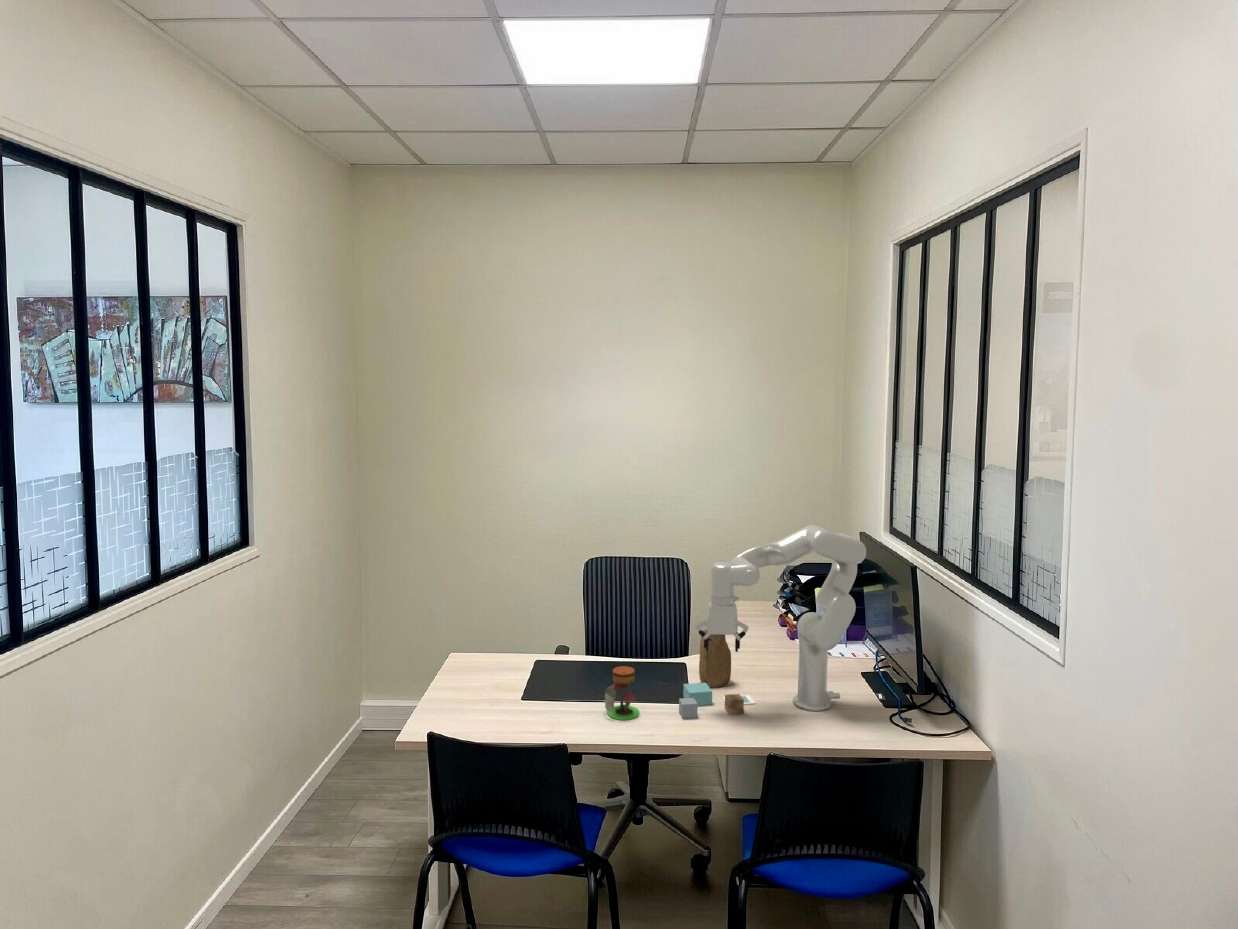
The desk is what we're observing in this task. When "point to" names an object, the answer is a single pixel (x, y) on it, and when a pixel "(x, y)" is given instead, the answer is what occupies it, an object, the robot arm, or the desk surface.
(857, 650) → the desk surface
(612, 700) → the green-based stack
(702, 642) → the brown piece
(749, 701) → the card
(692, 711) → the slate grey cube
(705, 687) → the teal base block
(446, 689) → the desk surface
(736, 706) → the walnut cube
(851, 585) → the robot arm
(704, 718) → the desk surface
